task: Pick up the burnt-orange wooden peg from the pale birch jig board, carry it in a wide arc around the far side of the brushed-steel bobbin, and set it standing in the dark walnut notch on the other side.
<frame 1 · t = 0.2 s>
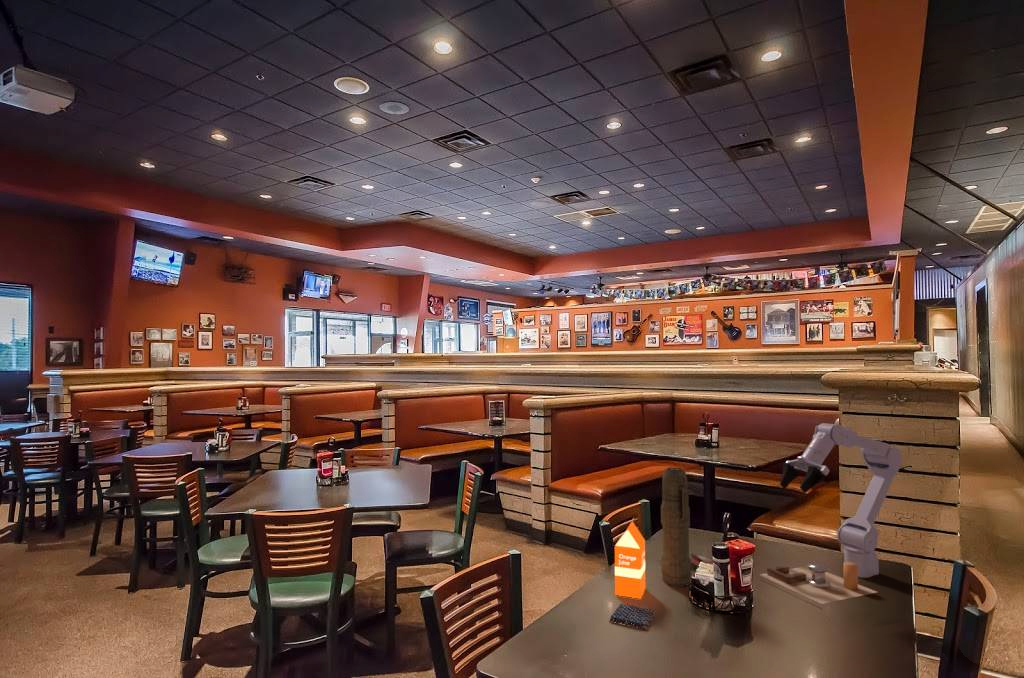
hand: (792, 488, 170), 31 cm above the table, tool tilted 45°, fingers open, 7 cm apart
notch block: (786, 574, 176), on the jig board, point 2 cm above the table
woven mat: (632, 621, 152), on the table
thermos: (676, 581, 177), on the table
jig board: (818, 589, 171), on the table
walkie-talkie: (702, 570, 188), on the table
bobbin: (818, 574, 171), on the jig board, point 4 cm above the table
peg: (850, 587, 168), point 1 cm above the table, touching jig board
orange juice: (630, 592, 169), on the table
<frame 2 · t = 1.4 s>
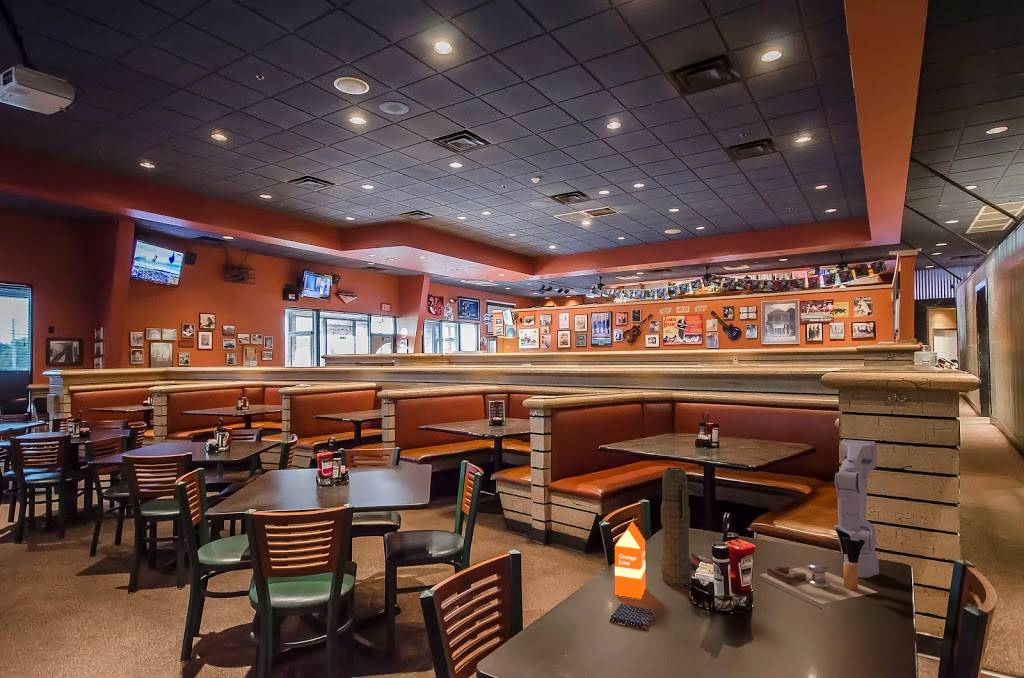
hand: (850, 558, 168), 10 cm above the table, tool pointing down, fingers open, 7 cm apart
nothing on the table moved.
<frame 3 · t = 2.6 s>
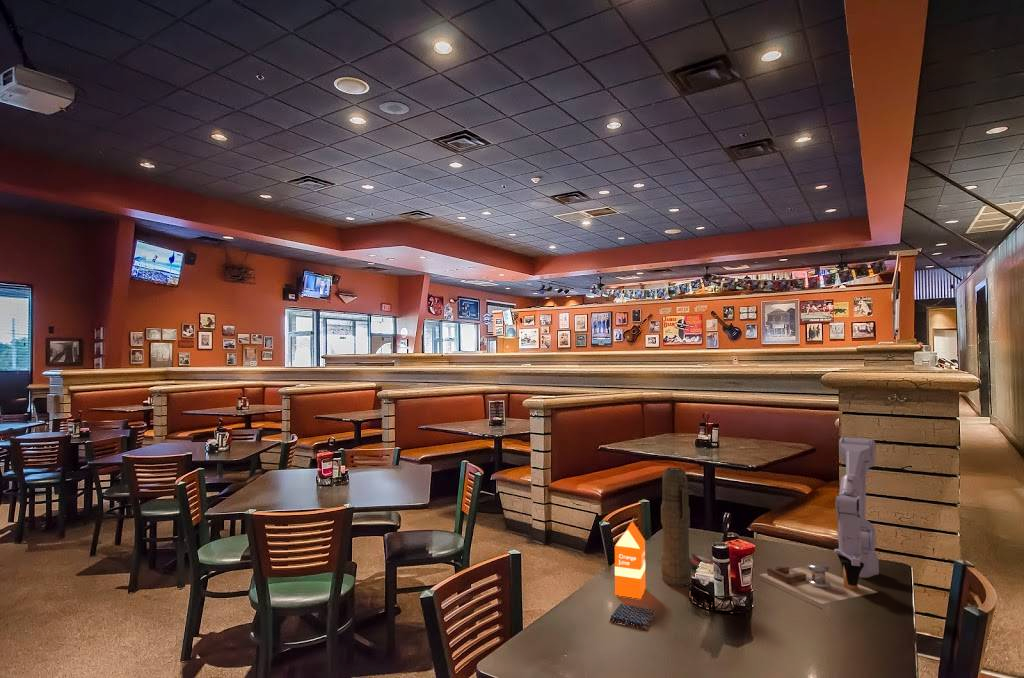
hand: (850, 582, 168), 3 cm above the table, tool pointing down, fingers closed on peg, 4 cm apart
peg: (850, 587, 168), point 1 cm above the table, touching gripper, jig board
everything else where it was.
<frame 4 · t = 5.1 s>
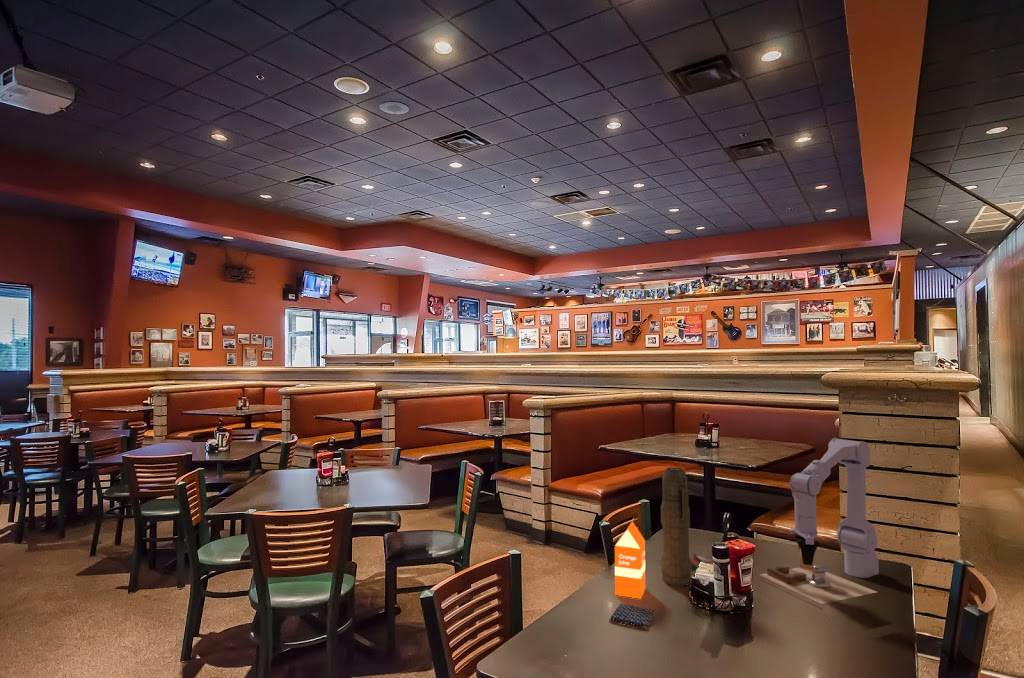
hand: (806, 562, 165), 10 cm above the table, tool pointing down, fingers closed on peg, 4 cm apart
peg: (806, 567, 165), point 9 cm above the table, touching gripper
everything else where it was.
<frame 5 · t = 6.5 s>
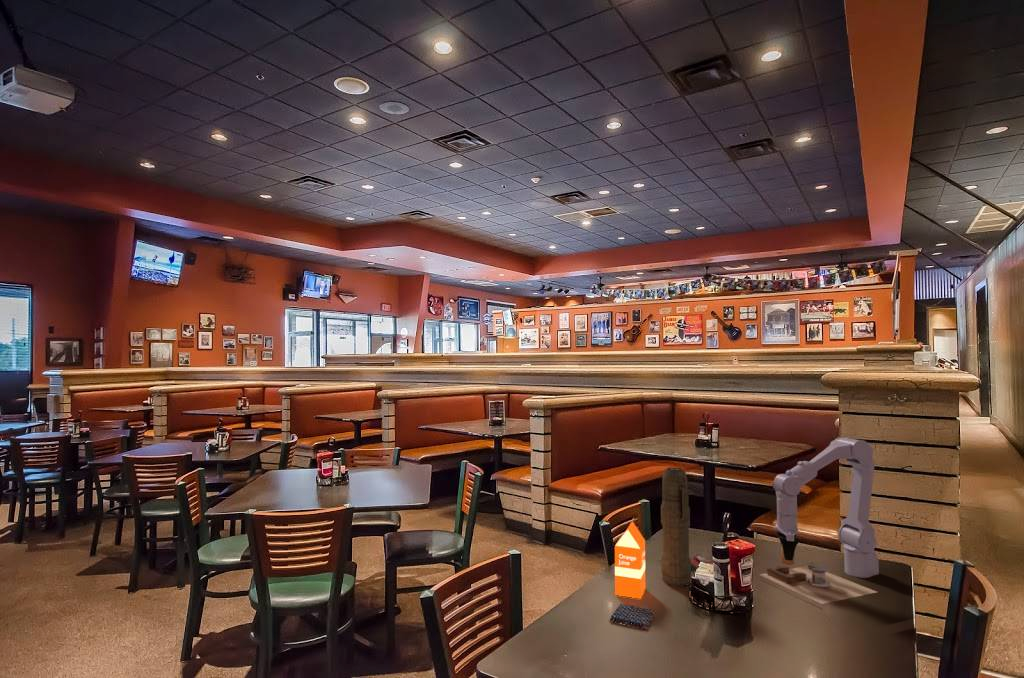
hand: (787, 557, 176), 8 cm above the table, tool pointing down, fingers closed on peg, 4 cm apart
peg: (788, 562, 176), point 6 cm above the table, touching gripper
when the fingers open (4 cm above the table, at t = 7.4 s): peg drops 1 cm, resting on jig board.
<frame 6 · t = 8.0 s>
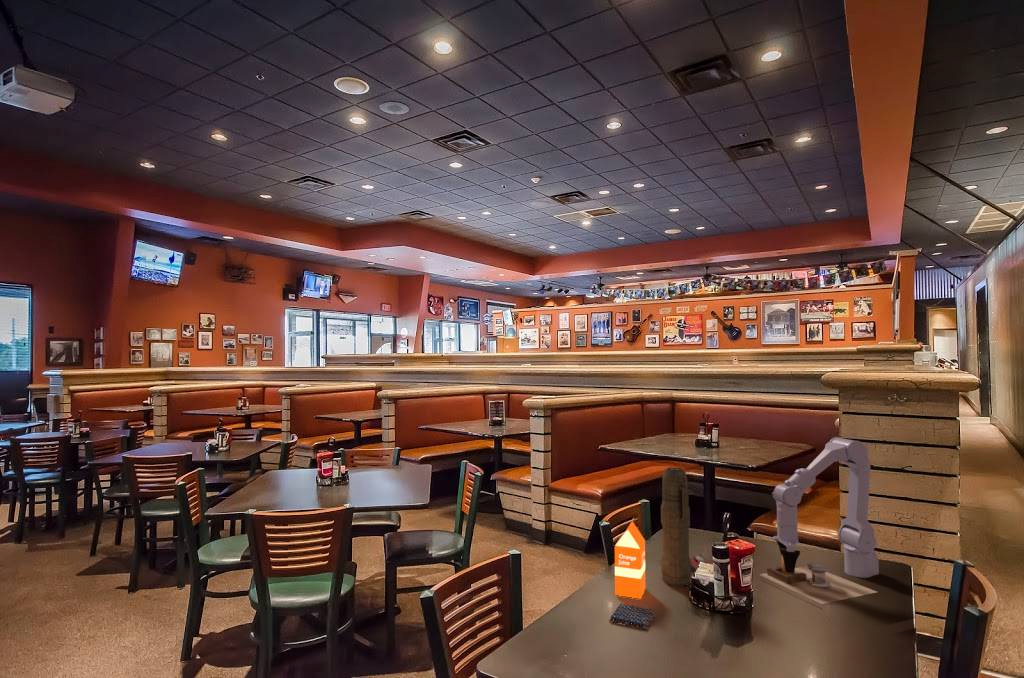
hand: (788, 567, 176), 4 cm above the table, tool pointing down, fingers open, 7 cm apart
peg: (788, 577, 176), point 2 cm above the table, touching jig board
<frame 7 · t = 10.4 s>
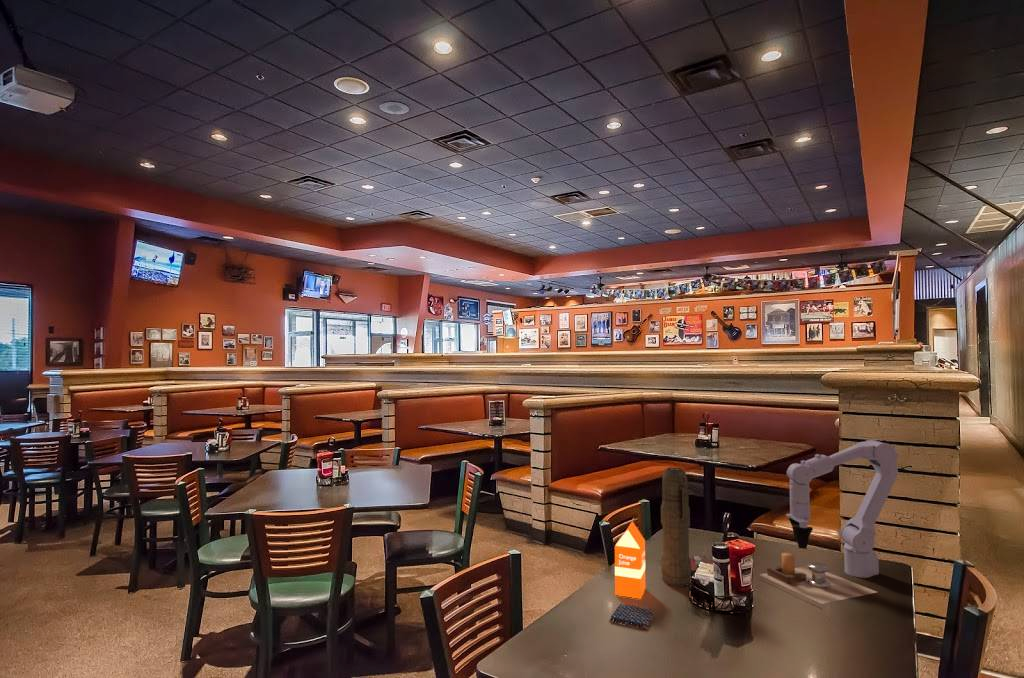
hand: (800, 544, 182), 10 cm above the table, tool pointing down, fingers open, 7 cm apart
at the end: peg 0.2 cm off-centre on the notch block, point 1.5 cm above the notch block's base; peg tilted 0°; the gripper is holding nothing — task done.
